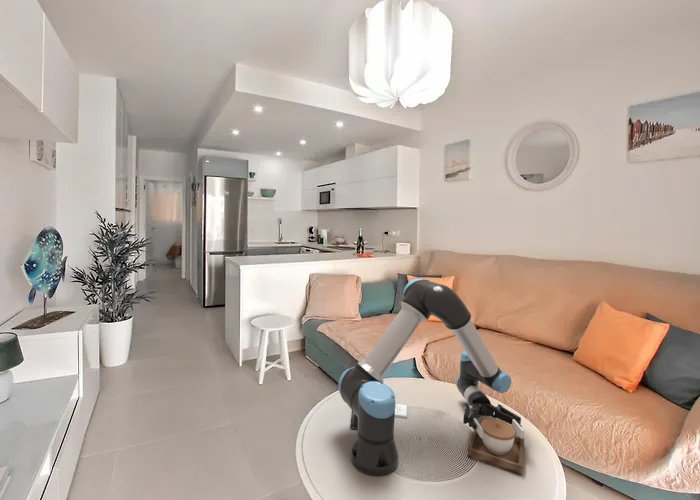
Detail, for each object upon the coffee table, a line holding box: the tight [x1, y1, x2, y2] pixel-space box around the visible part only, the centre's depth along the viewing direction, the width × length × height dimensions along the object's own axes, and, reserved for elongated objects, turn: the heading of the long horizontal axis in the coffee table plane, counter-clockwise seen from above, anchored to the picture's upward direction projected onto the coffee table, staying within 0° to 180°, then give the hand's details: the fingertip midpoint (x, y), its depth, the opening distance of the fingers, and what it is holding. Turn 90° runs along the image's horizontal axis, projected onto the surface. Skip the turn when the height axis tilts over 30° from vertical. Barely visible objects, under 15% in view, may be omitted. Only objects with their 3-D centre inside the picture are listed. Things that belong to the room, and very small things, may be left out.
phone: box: [349, 410, 358, 431], centre depth 133 cm, size 8×1×15 cm
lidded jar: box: [480, 418, 516, 455], centre depth 115 cm, size 11×11×9 cm
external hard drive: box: [395, 403, 408, 419], centre depth 139 cm, size 2×8×12 cm
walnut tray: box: [467, 429, 525, 477], centre depth 116 cm, size 16×16×3 cm
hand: (502, 434), depth 112 cm, fingers open, 13 cm apart
